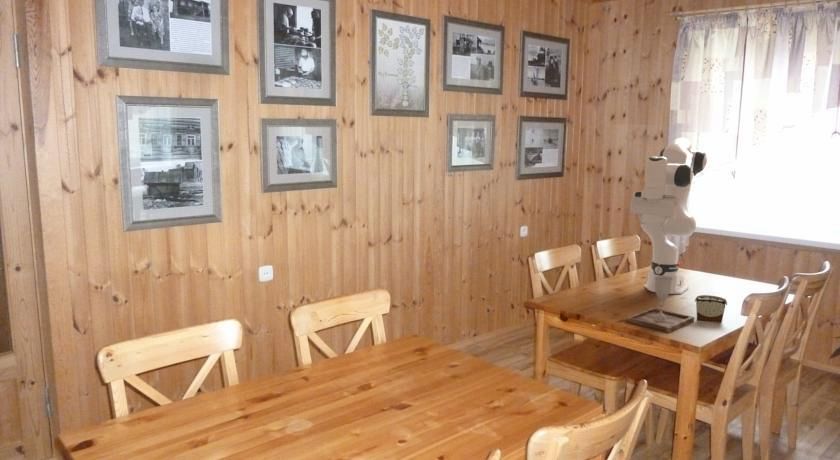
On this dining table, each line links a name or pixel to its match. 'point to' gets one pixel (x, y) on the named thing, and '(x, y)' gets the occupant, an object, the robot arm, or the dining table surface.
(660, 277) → the chalice
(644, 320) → the serving tray
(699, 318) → the food container
